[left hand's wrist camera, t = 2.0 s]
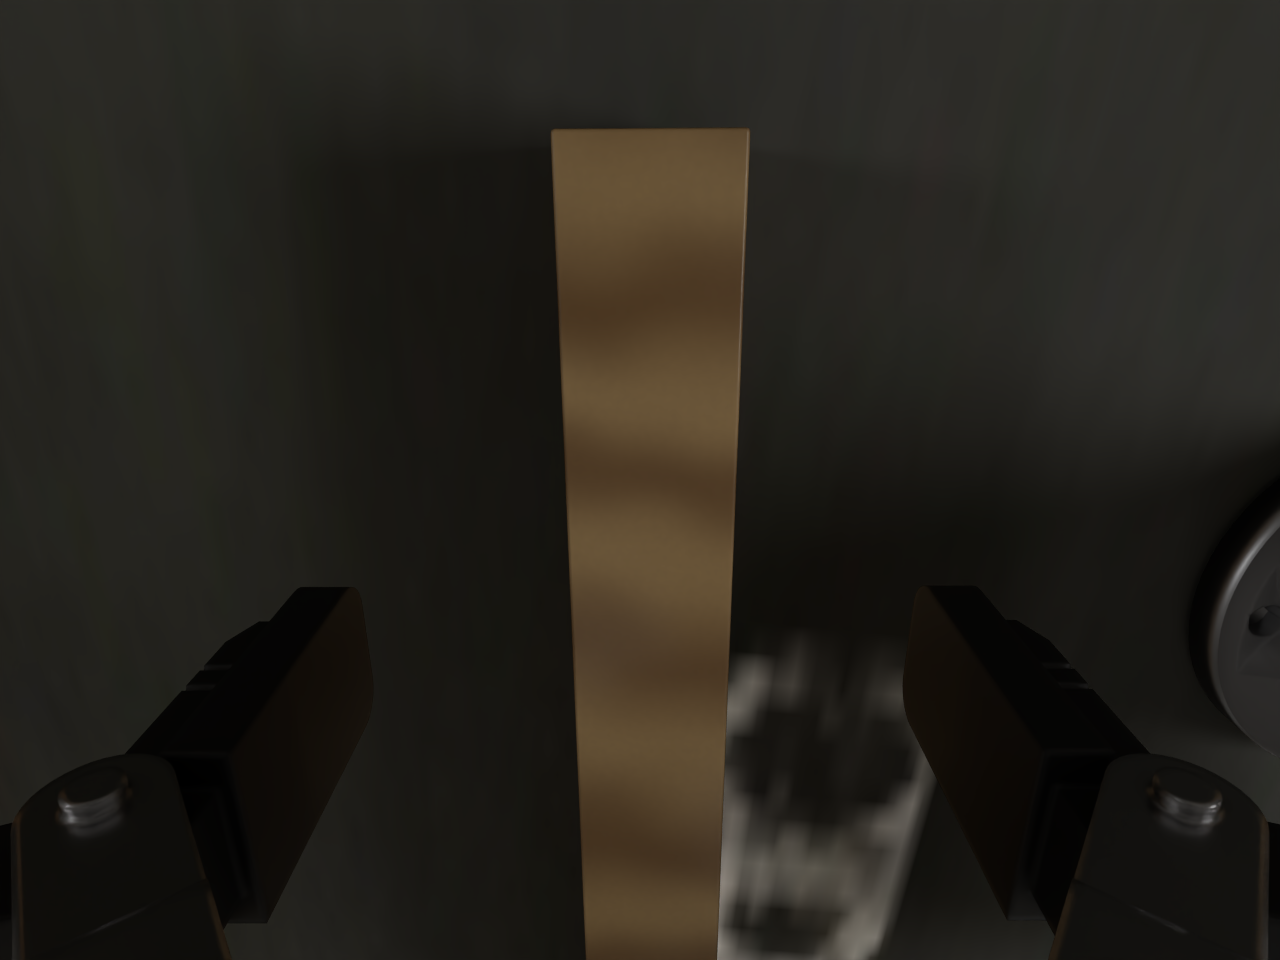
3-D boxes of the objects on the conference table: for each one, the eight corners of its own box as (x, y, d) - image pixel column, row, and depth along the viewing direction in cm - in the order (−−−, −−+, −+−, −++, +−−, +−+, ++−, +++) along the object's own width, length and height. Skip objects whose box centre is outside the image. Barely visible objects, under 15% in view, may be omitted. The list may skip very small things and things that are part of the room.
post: (577, 144, 26) (550, 128, 18) (716, 143, 26) (751, 126, 18) (608, 1130, 45) (601, 1342, 36) (690, 1129, 45) (701, 1342, 36)
